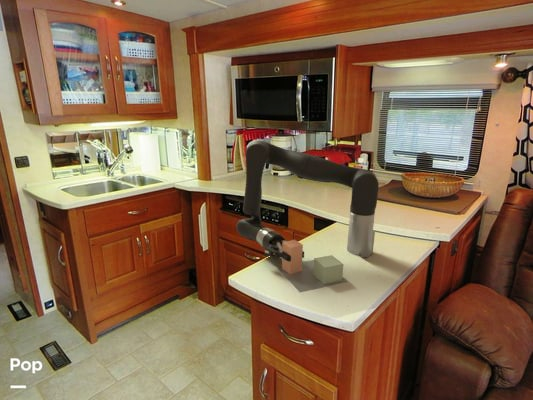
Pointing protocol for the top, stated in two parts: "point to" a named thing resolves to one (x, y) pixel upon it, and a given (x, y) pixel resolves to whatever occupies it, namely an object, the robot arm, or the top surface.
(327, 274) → the bottom brick
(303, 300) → the top surface
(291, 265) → the top brick
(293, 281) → the baseplate
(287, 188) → the top surface
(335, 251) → the top surface
